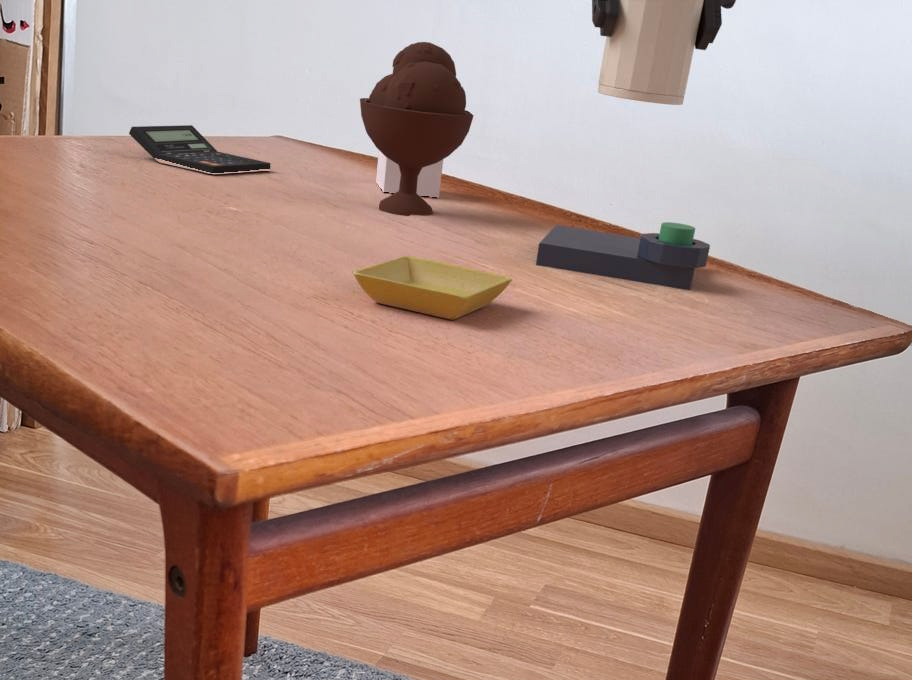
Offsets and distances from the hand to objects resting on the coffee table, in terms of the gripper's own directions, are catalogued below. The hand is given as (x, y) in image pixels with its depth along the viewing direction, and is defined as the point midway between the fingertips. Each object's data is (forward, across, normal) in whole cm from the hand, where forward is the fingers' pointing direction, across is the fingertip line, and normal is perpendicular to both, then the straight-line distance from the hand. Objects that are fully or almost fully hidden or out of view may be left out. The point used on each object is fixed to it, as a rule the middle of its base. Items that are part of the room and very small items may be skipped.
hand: (657, 34), depth 89 cm
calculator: (-19, -35, +46) cm, 61 cm away
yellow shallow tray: (+20, -15, +6) cm, 26 cm away
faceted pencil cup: (+2, 0, +4) cm, 5 cm away
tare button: (+6, +7, +16) cm, 18 cm away
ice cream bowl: (-8, -14, +34) cm, 38 cm away
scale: (+5, +3, +21) cm, 22 cm away
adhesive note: (-17, -13, +44) cm, 49 cm away
